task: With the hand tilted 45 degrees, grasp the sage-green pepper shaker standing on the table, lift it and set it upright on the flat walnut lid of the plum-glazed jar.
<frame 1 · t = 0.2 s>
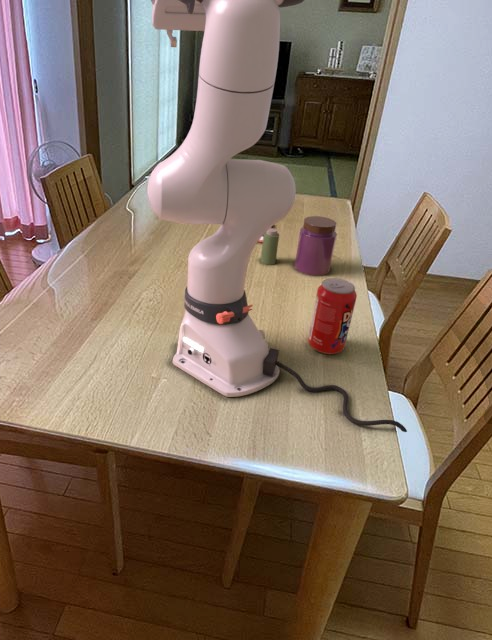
hand: (192, 46, 121), 54 cm above the table, tool tilted 30°, fingers open, 8 cm apart
soda can: (325, 347, 105), on the table
cell phone: (256, 232, 163), on the table
plum jar: (311, 268, 140), on the table
green shaker: (268, 261, 143), on the table
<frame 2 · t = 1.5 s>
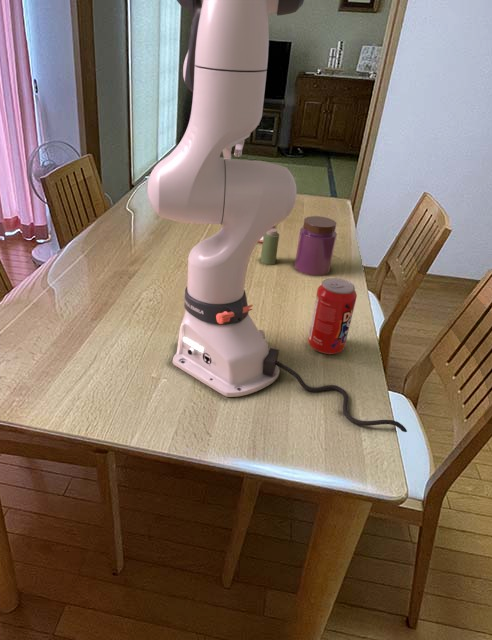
hand: (232, 159, 132), 27 cm above the table, tool pointing down, fingers open, 8 cm apart
nothing on the table moved.
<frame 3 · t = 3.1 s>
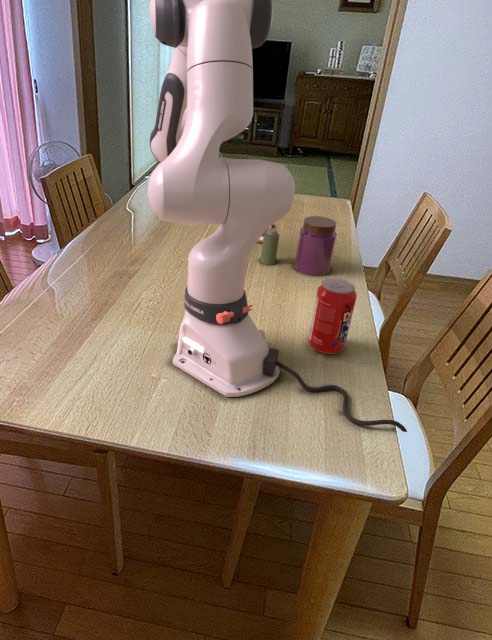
hand: (232, 204, 138), 15 cm above the table, tool tilted 45°, fingers open, 8 cm apart
nothing on the table moved.
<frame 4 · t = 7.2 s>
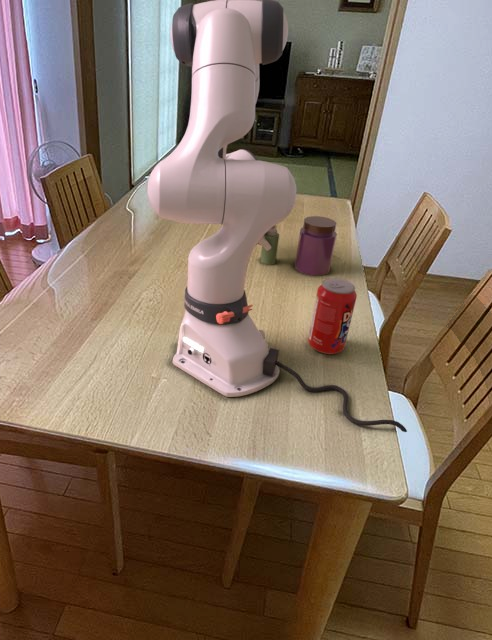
hand: (272, 245, 140), 5 cm above the table, tool tilted 45°, fingers closed on green shaker, 4 cm apart
green shaker: (268, 261, 143), on the table, touching gripper
everything else where it was.
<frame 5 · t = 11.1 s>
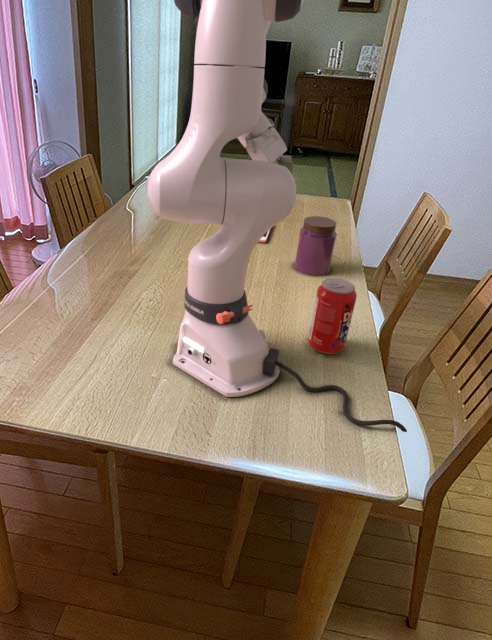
hand: (286, 174, 129), 26 cm above the table, tool tilted 45°, fingers closed on green shaker, 4 cm apart
green shaker: (281, 193, 132), point 20 cm above the table, touching gripper
everything else where it was.
when the fingers open (19 cm above the table, at t = 15.4 s): green shaker stays where it is, resting on plum jar.
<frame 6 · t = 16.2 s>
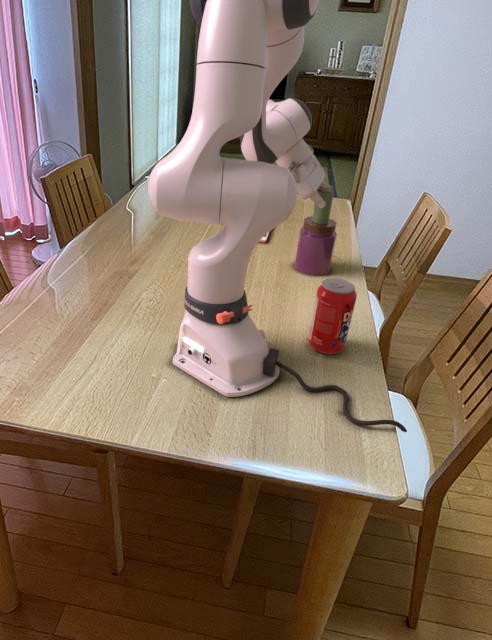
hand: (326, 201, 130), 20 cm above the table, tool tilted 45°, fingers open, 8 cm apart
green shaker: (320, 221, 133), point 14 cm above the table, touching plum jar
everything else where it was.
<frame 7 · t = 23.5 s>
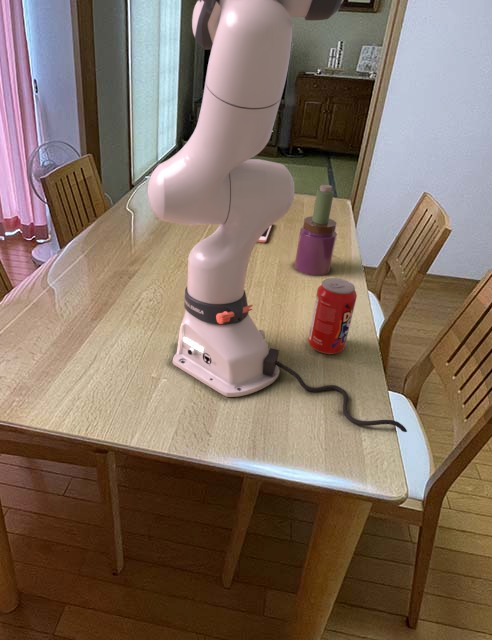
hand: (244, 129, 118), 37 cm above the table, tool pointing down, fingers open, 8 cm apart
nothing on the table moved.
at the end: green shaker 0.0 cm off-centre on the plum jar, point 14.0 cm above the plum jar's base; green shaker tilted 0°; the gripper is holding nothing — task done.
